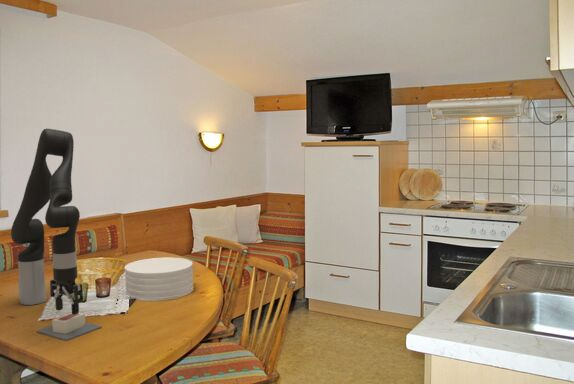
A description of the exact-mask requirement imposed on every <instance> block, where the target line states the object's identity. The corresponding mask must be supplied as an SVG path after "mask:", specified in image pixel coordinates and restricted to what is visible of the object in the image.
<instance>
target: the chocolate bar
mask: <svg viewBox="0 0 574 384" xmlns="http://www.w3.org/2000/svg"><path fill="white" fill-rule="evenodd" d="M116 299H117V301H118V299H119V298H116ZM128 299H129V307H130V308H131V307H132V305H133V304H134V303H135V302H136V301H137V300H136V299H131V298H128ZM116 304H117V303H116ZM124 313H125V314H126V312H115V313H105V314H124ZM125 314H124V315H125Z"/></svg>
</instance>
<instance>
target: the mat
mask: <svg viewBox="0 0 574 384" xmlns="http://www.w3.org/2000/svg"><path fill="white" fill-rule="evenodd" d="M102 328H103V327H102V325H99V324H95V323H91V322H88V321H85V325H84V326H82V327H80V328H78V329H75V330H73V331H71V332H68V333H66V334H63V333H58V332H53V325H48V326H45V327H43V328H40V329H37V330H35V333H38V334H41V335H45V336H49V337H51V338H56V339H59V340H62V341H65V342H68V341H70V340H73V339H75V338H78V337H81V336H83V335H86V334H89V333H91V332H94V331H96V330H100V329H102Z"/></svg>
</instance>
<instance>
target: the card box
mask: <svg viewBox="0 0 574 384" xmlns="http://www.w3.org/2000/svg"><path fill="white" fill-rule="evenodd" d="M51 322H52V323H51V324H52V325H53V332H58V333H63V334H66V333H68V332H71V331H73V330H75V329H78V328H80V327H82V326H84V325H85V322H86V314H85V313H82V312H79V313H78V314H75V315H73V314H72V311H71V312H70V313H67V314H64V315H61V316H60V317H56V318H54V319H52V320H51Z"/></svg>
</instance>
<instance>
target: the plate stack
mask: <svg viewBox="0 0 574 384" xmlns="http://www.w3.org/2000/svg"><path fill="white" fill-rule="evenodd" d="M193 267H194V265H193V261H192V260H190V259H187V258H182V257H167V256H166V257H152V258H145V259H144V258H143V259H139V260H135V261H132V262H129V263H127V264H126V265H125V266H124V278H125V279H124V282H125V287H124V288H125V296H126V295H128V296H129V297H131V298H132V299H136V300H135V301H144V302H145V301H147V302H153V301H156V302H157V301H167V300H172V299H173V300H174V299H177V298H181V297H184V296H187V295H189V294H190V293H192V292H193V291H194V274H193V272H194V269H193ZM129 297H128V298H129ZM131 298H130V299H131Z"/></svg>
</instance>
